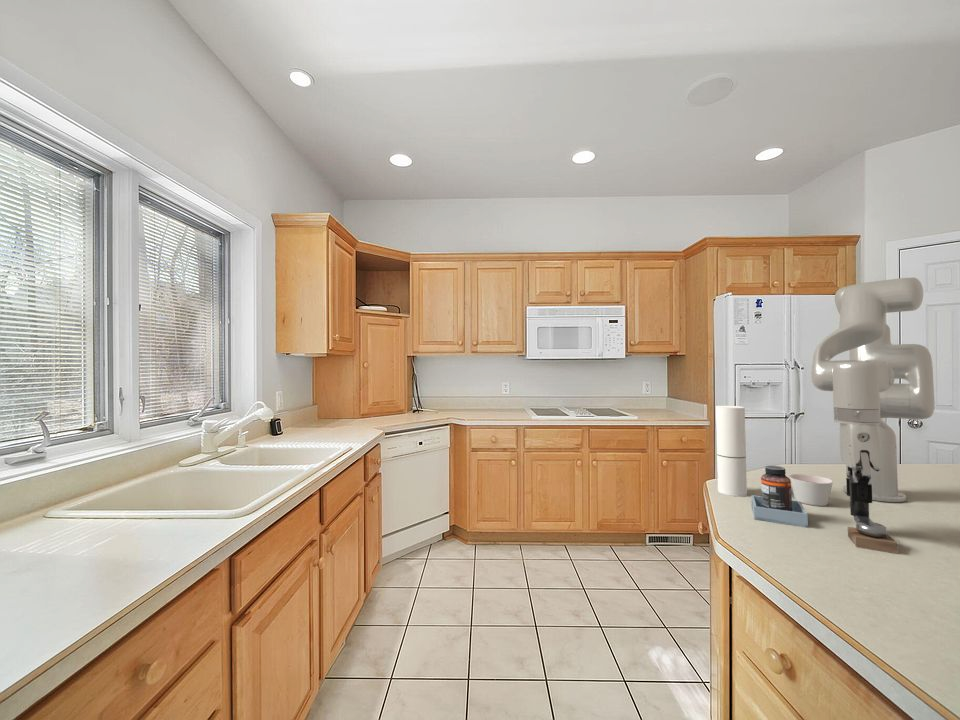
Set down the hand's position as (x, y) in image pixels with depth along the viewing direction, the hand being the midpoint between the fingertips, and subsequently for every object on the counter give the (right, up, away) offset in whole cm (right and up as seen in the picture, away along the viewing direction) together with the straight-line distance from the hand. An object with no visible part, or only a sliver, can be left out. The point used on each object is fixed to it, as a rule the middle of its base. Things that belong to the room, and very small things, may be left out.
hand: (859, 498), depth 87 cm
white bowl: (+5, -8, +19) cm, 21 cm away
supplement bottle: (-11, -7, +9) cm, 16 cm away
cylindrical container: (-10, -8, +28) cm, 31 cm away
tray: (-11, -8, +9) cm, 16 cm away
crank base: (-4, -7, -7) cm, 10 cm away
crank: (-2, -5, -4) cm, 6 cm away
